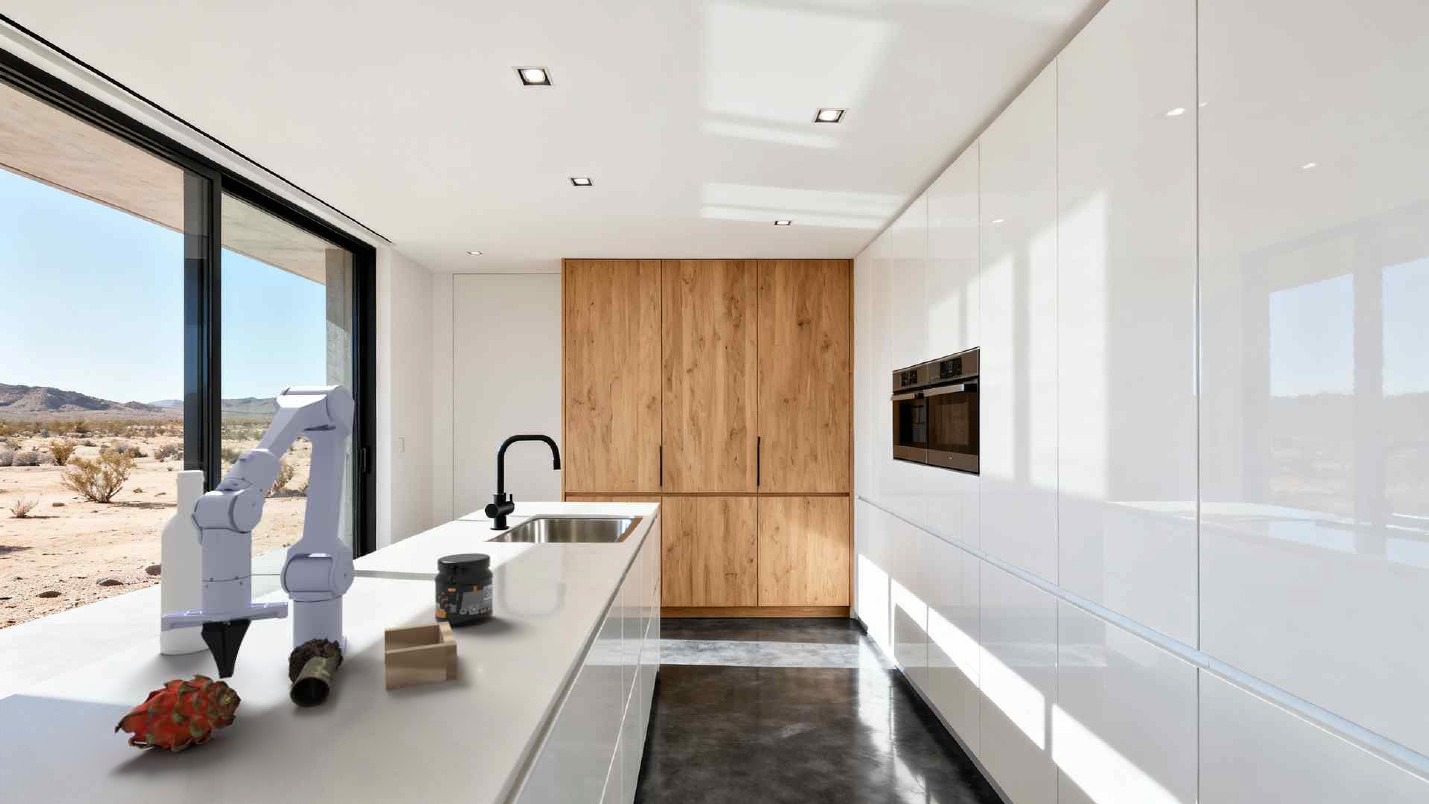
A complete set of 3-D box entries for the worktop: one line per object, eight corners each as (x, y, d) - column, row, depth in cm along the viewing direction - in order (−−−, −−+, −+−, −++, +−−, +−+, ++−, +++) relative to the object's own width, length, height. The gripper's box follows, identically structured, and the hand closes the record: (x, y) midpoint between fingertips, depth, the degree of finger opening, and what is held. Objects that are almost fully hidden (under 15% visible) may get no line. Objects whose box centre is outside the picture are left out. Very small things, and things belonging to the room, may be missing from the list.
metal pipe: (330, 706, 97) (330, 664, 97) (273, 715, 95) (272, 671, 95) (346, 665, 114) (345, 629, 114) (297, 671, 111) (296, 634, 111)
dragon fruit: (249, 748, 88) (124, 789, 82) (245, 690, 94) (128, 724, 88) (237, 706, 83) (103, 747, 77) (233, 648, 89) (109, 681, 83)
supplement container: (432, 617, 141) (432, 555, 141) (489, 611, 145) (488, 550, 146) (436, 631, 131) (436, 564, 132) (497, 624, 136) (496, 559, 136)
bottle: (206, 638, 129) (207, 469, 130) (225, 645, 124) (226, 470, 125) (152, 650, 122) (153, 471, 123) (170, 658, 118) (171, 473, 119)
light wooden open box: (384, 660, 115) (384, 628, 115) (448, 652, 119) (448, 621, 119) (385, 689, 102) (385, 653, 103) (456, 678, 106) (456, 644, 107)
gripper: (154, 588, 94) (153, 694, 94) (284, 577, 100) (283, 676, 100) (169, 578, 101) (168, 677, 100) (289, 568, 107) (289, 661, 106)
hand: (226, 676), depth 100 cm, fingers closed
